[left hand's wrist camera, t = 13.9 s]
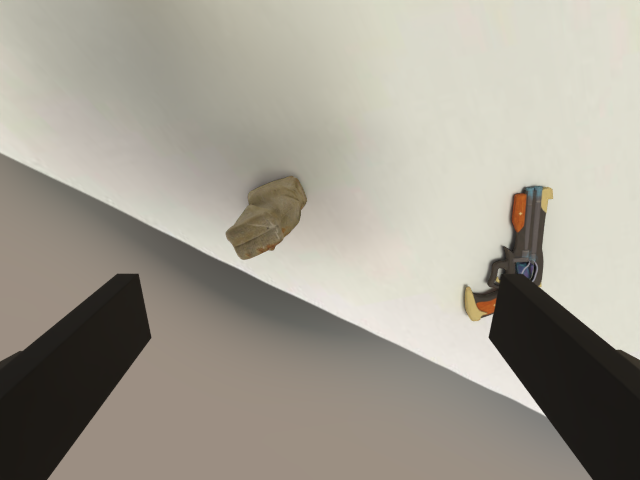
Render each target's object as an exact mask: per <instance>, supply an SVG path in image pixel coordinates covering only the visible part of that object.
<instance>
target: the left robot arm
mask: <svg viewBox="0 0 640 480" xmlns="http://www.w3.org/2000/svg"><path fill="white" fill-rule="evenodd" d="M150 339H151V334H150V329H149V324H148V319H147V314H146V309H145V304H144V299H143V294H142V289H141V284H140V279H139V274H117V275H115V276H114V277H113V278H112V279H110V280H109V281H108V282H107V283H105V284H104V285H103V286H102V287H101V288H99V289H98V290H97V291H96V292H94V293H93V294H92V295H91V296H90V297H88V298H87V299H86V300H85V301H83V302H82V303H81V304H80V305H79V306H77V307H76V308H75V309H74V310H72V311H71V312H70V313H69V314H67V315H66V316H65V317H64V318H63V319H61V320H60V321H59V322H58V323H56V324H55V325H54V326H53V327H52V328H50V329H49V330H48V331H47V332H45V333H44V334H43V335H42V336H41V337H39V338H38V339H37V340H36V341H35V342H33V343H32V344H31V345H30V346H28V347H27V348H26V349H25V350H24V351H19V352H17V353H15V354H13V355H12V356H10V357H8V358H6V359H4V360H2V361H0V480H47V479H48V478H49V476H50V475H51V474H52V472H53V471H54V470H55V468H56V467H57V465H58V464H59V463H60V461H61V460H62V459H63V457H64V456H65V455H66V453H67V452H68V451H69V449H70V448H71V446H72V445H73V444H74V442H75V441H76V440H77V438H78V437H79V435H80V434H81V433H82V431H83V430H84V429H85V427H86V426H87V425H88V423H89V422H90V420H91V419H92V418H93V416H94V415H95V414H96V412H97V411H98V410H99V408H100V407H101V406H102V404H103V403H104V402H105V400H106V399H107V397H108V396H109V395H110V393H111V392H112V391H113V389H114V388H115V387H116V385H117V384H118V382H119V381H120V380H121V378H122V377H123V376H124V374H125V373H126V372H127V370H128V369H129V367H130V366H131V365H132V363H133V362H134V361H135V359H136V358H137V357H138V355H139V354H140V352H141V351H142V350H143V348H144V347H145V346H146V344H147V343H148V342H149V340H150ZM489 339H490V340H491V342H492V343H493V344H494V346H495V347H496V348H497V350H498V351H499V353H500V354H501V355H502V357H503V358H504V359H505V361H506V362H507V363H508V365H509V366H510V367H511V369H512V370H513V372H514V373H515V374H516V376H517V377H518V378H519V380H520V381H521V382H522V384H523V385H524V387H525V388H526V389H527V391H528V392H529V393H530V395H531V396H532V397H533V399H534V400H535V402H536V403H537V404H538V406H539V407H540V408H541V410H542V411H543V412H544V414H545V415H546V416H547V418H548V419H549V420H550V422H551V423H552V425H553V426H554V427H555V429H556V430H557V431H558V433H559V434H560V436H561V437H562V438H563V440H564V441H565V442H566V444H567V445H568V446H569V448H570V449H571V450H572V452H573V453H574V455H575V456H576V457H577V459H578V460H579V461H580V463H581V464H582V465H583V467H584V468H585V469H586V471H587V472H588V474H589V475H590V476H591V478H592V479H593V480H640V360H639V359H637V358H635V357H633V356H631V355H629V354H628V353H626V352H624V351H622V350H615V349H614V348H613V347H612V346H610V345H609V344H608V343H607V342H606V341H604V340H603V339H602V338H601V337H599V336H598V335H597V334H596V333H595V332H593V331H592V330H591V329H590V328H588V327H587V326H586V325H585V324H584V323H582V322H581V321H580V320H579V319H577V318H576V317H575V316H574V315H573V314H571V313H570V312H569V311H568V310H566V309H565V308H564V307H563V306H561V305H560V304H559V303H558V302H557V301H555V300H554V299H553V298H552V297H550V296H549V295H548V294H547V293H546V292H544V291H543V290H542V289H541V288H539V287H538V286H537V285H536V284H535V283H533V282H532V281H531V280H530V279H528V278H527V277H526V276H525V275H524V274H501V279H500V284H499V289H498V294H497V299H496V304H495V309H494V314H493V319H492V324H491V328H490V333H489Z"/></svg>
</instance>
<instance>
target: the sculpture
mask: <svg viewBox="0 0 640 480" xmlns="http://www.w3.org/2000/svg"><path fill="white" fill-rule="evenodd" d="M248 202H249V206H247V208H246V209H245V210H244V212H243V213H242V215H241V216H240V217H239V218H238V220H237V221H236V223H235V224H234V225H233V226H232V227H230V228H229V229H228V230H227V231H226V237H227V239H228V240H229V241H230V242H231V243H232V245H233V247H234V249H235V251H236V253H237V255H238V256H239V257H240V258H241V259H242V260H246V259H250V258H253V257H255V256H257V255H259V254H261V253H263V252H266V251H268V250H270V251H273V250H274V249H275V246H276V245H277V244H279V243H280V242H281V241H282V240H283V238H284V237H285V236H286V235H288V234H289V233H290V232H291V231H292V229H293V228H294V227H295V226H296V225H297V224H298V223H299V221H300V216H301V209H302V208H303V207H304V206H305V204H306V202H307V198H306V195H305V192H304V190H303V188H302V186H301V184H300V182H299V180H298V179H297V178H294V177H293V176H289V177H286V178H284V179H280V180H276V181H273V182H270V183H268V184H265V185H263V186H261V187H258V188H256V189H255V190H253V191H251V192H250V193H249V194H248Z"/></svg>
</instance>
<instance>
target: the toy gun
mask: <svg viewBox="0 0 640 480" xmlns="http://www.w3.org/2000/svg"><path fill="white" fill-rule="evenodd" d="M548 199H553V191H552V189H551V188H549V187H544V188H543V187H542V186H535V187H534V188H533V187H528V188H526V190H524V193H521V194H516V195H515V197H514V204H513V213H512V223H513V226H514V228H515V231H516V240H515V246H514V249H513V251H512V252H511V251H510V250H509V249H508V248H506V247H504V250H505V254H506V260H504V261H496V262H495V263H493V265H492V272H491V276H490V278H489V281H488V283H487V284H488V286H489V287H494V288H497V289H499V285H496V284H494V282H495V280H496V281H497V282H498V283H500V282H499V281H500V280H499V279H498V276H497V272H498V269H499V268H503V269H505V274H515V269H516V272H517V274H524V275H525V276H526V277H527V278H528V279H530V278H531V275H532V271H533V267H534V272H533V276H532V278H531V281H532V282H533V283H535V284H536V285H537V286H538V287H541V280H542V273H543V252H542V242H543V232H544V223H545V216H546V211H547V204H548ZM531 260H533V261H534V265H533V264H532V263H530V261H531ZM515 262H517V263H516V265H515ZM496 276H497V277H496ZM497 294H498V290H496V291H494V292H492V293H490V294H487V295H477V294H474V293H472V291H471V288H470V287H467V288H466V291H465V308H466V312H467V314H468V316H469V318H470V319H471V320H472V321H479V320H480V318H483V317H486V316H489V315H491V314H493V313H494V309H495V304H496V299H497Z"/></svg>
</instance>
